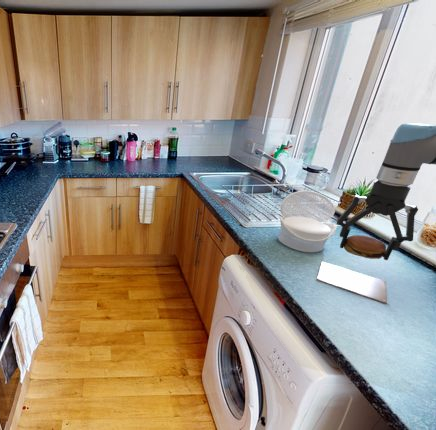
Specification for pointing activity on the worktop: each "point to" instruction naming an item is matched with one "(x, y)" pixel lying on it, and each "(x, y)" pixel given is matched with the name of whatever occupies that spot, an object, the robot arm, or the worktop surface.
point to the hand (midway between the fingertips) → (362, 252)
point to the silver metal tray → (353, 281)
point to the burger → (365, 247)
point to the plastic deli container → (306, 222)
